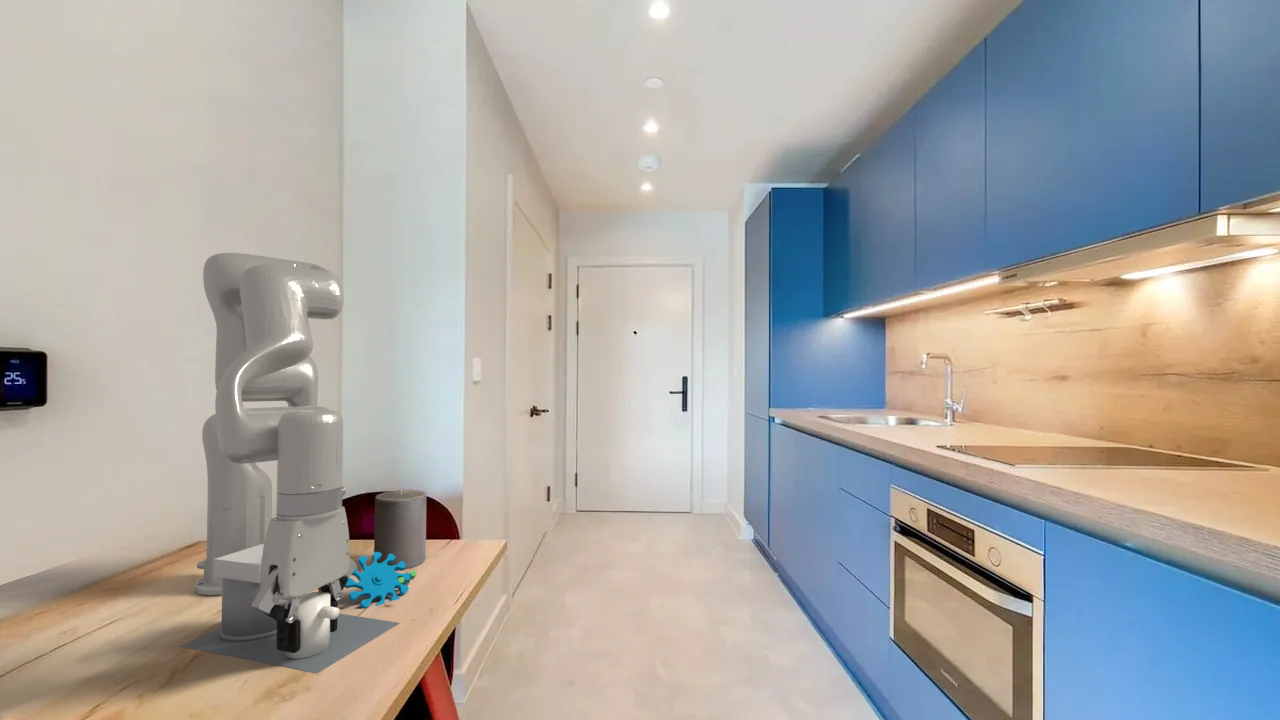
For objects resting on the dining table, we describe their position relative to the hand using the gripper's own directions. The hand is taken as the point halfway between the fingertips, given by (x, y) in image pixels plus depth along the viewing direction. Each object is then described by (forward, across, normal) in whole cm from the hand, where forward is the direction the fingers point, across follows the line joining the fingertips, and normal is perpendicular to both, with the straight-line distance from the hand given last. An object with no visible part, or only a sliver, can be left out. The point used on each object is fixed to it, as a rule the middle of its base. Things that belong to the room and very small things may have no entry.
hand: (308, 638), depth 71 cm
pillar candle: (+3, -34, -15) cm, 37 cm away
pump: (+1, 0, 0) cm, 1 cm away
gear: (+3, -17, -4) cm, 18 cm away
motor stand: (+3, -3, -6) cm, 7 cm away
